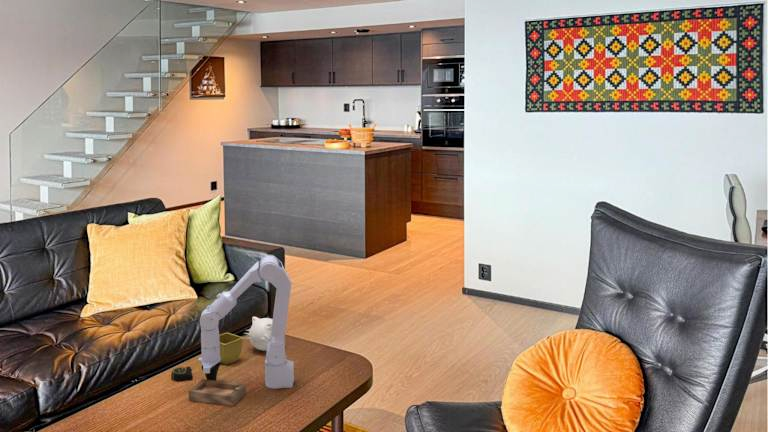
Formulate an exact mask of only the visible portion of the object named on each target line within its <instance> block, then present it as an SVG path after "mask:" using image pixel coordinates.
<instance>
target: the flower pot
mask: <svg viewBox="0 0 768 432" xmlns="http://www.w3.org/2000/svg"><path fill="white" fill-rule="evenodd" d="M243 338H244V337H242V336H239V335H236V334H233V333H230V332H223V333H222V334H219V343H220V357H221V360H220V362H221V364H222V365H224V366H227V365H229V364H232V363H234V362H237V361H238V360H239V357H240V355H241V353H242V350H243V340H244V339H243Z"/></svg>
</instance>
